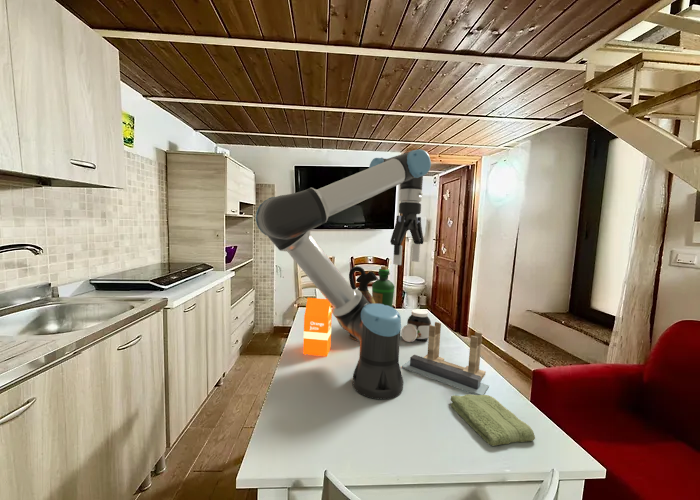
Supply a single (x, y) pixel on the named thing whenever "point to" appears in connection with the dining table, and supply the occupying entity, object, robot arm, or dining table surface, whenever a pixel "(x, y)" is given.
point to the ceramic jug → (362, 285)
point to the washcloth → (491, 419)
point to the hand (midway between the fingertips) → (406, 263)
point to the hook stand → (434, 355)
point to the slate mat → (480, 391)
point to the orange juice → (317, 327)
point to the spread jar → (416, 326)
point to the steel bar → (446, 371)
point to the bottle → (383, 288)
